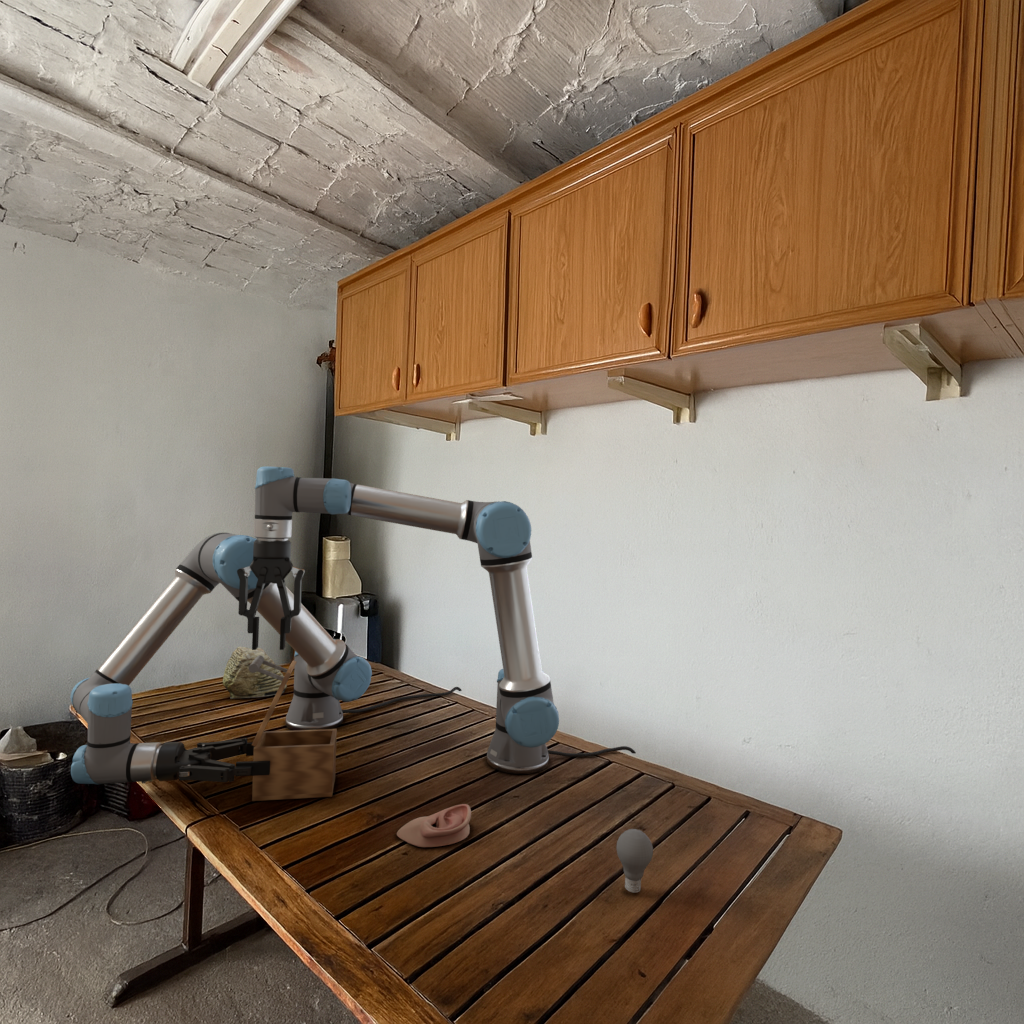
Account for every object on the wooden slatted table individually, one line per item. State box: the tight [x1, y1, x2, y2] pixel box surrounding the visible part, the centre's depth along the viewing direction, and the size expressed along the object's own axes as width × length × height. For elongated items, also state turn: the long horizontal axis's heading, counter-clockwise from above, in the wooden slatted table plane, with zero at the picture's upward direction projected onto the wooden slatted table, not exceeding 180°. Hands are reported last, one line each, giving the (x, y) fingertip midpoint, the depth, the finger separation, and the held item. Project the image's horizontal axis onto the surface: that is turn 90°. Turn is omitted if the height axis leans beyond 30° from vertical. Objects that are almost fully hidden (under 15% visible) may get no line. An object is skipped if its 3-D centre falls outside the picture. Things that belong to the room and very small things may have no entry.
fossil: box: [222, 646, 288, 699], centre depth 198 cm, size 9×18×15 cm, turn 132°
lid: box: [249, 656, 297, 747], centre depth 135 cm, size 16×10×8 cm
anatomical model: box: [396, 803, 472, 848], centre depth 121 cm, size 13×4×12 cm
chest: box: [251, 728, 338, 802], centre depth 137 cm, size 16×10×11 cm, turn 102°
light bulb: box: [615, 828, 654, 894], centre depth 106 cm, size 6×6×10 cm
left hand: (273, 757), depth 136 cm, fingers closed on chest, 10 cm apart
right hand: (268, 648), depth 135 cm, fingers open, 5 cm apart
